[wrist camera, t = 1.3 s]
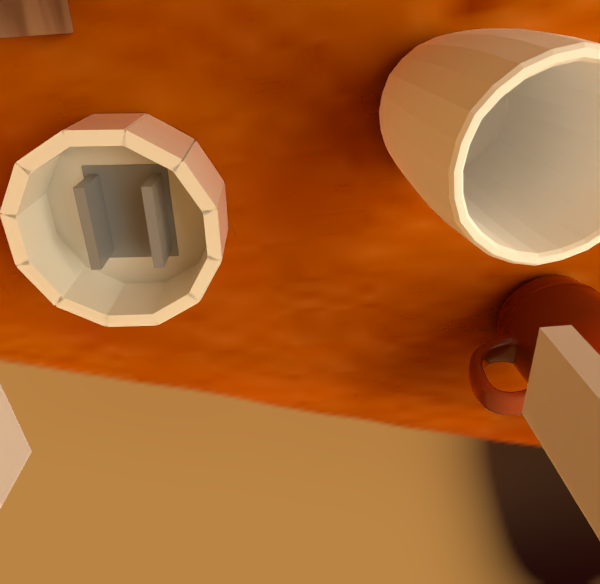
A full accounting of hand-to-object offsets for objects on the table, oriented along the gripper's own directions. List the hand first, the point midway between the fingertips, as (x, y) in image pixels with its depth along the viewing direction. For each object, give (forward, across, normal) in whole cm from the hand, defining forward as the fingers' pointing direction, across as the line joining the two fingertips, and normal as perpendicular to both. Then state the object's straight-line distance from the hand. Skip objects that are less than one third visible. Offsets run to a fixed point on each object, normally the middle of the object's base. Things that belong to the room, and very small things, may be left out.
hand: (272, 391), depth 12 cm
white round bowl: (+21, -9, -2) cm, 23 cm away
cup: (+22, +10, +3) cm, 24 cm away
